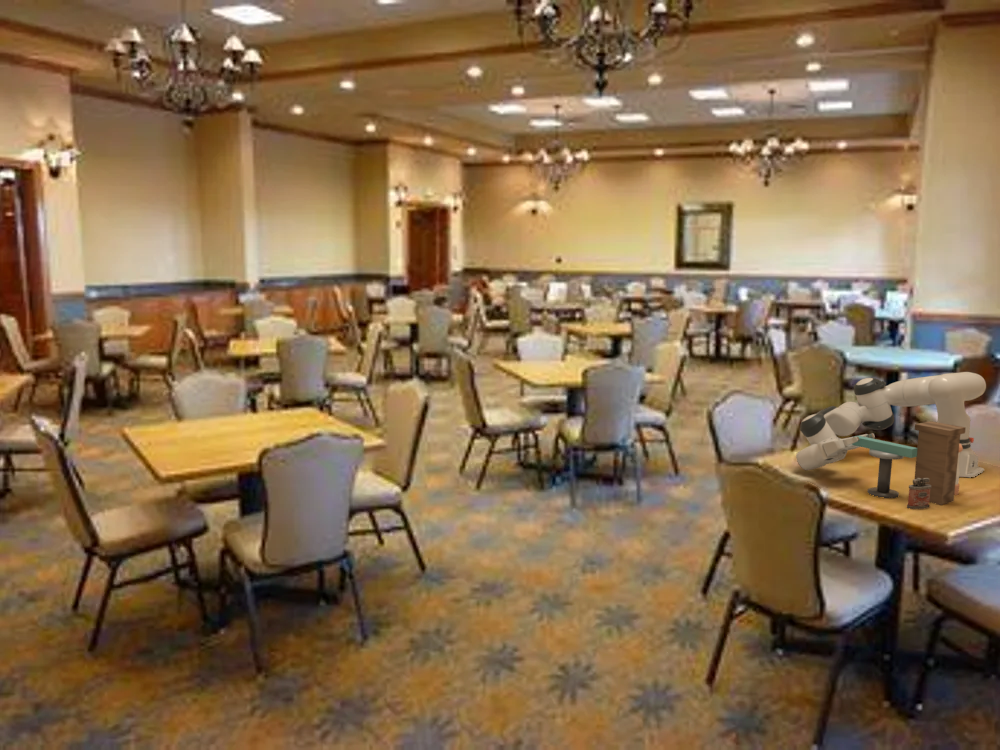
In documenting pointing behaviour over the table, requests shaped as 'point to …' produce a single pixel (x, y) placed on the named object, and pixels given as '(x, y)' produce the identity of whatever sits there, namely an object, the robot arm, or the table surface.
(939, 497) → the tall stand
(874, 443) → the rod
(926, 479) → the lighter
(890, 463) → the cake stand
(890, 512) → the table surface
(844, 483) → the table surface
